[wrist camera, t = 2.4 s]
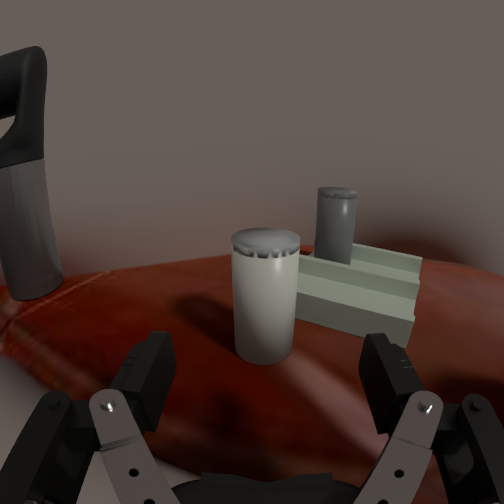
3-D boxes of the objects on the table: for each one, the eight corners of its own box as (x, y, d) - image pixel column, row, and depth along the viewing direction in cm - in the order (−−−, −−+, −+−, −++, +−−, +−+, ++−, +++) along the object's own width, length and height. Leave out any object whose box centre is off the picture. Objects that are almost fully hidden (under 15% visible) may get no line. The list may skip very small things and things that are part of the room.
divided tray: (257, 305, 32) (257, 280, 31) (315, 255, 45) (317, 236, 44) (405, 348, 24) (414, 321, 23) (418, 277, 37) (422, 257, 36)
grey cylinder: (307, 267, 39) (312, 190, 35) (320, 255, 43) (325, 185, 39) (344, 275, 36) (352, 196, 33) (353, 262, 40) (361, 190, 36)
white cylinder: (223, 351, 25) (217, 241, 21) (254, 324, 29) (254, 224, 25) (274, 372, 22) (280, 255, 19) (301, 339, 26) (310, 234, 23)
